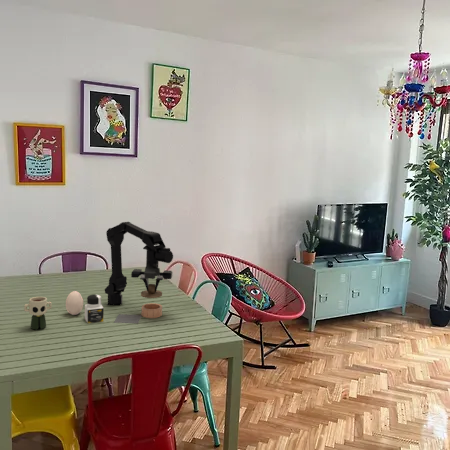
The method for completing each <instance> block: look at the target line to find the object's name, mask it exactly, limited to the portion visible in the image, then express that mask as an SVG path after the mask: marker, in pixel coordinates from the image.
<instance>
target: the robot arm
mask: <svg viewBox="0 0 450 450" xmlns="http://www.w3.org/2000/svg"><path fill="white" fill-rule="evenodd" d="M105 233H106V241H107V242H108V243H109V246H110V261H111V275H110V277H109V278H108V285H107V286H106V287H105V288H104V293H105V295H106V294H107V304H106V306H117V307H119V306H121V305H122V303H123V294H122V293H123V292H125V289H126V287H127V284H128V283H127V282H128V281H127V278H128V277H127V276H125V275H124V274H123V265H122V264H123V262H122V243H123V242H124V240H125V235H126V234H127V233H128V234H130V235H132V236H134V237H136V238H138V239H140V240H141V242H142V243H143V244H144V245H145V246H144V247H142V249H143V250H146V259H145V260H146V263H145V268H144V271H143V270H142V269H141V268H140V269H139V268H134V269H133V270H132V271H131V278H136V279H138V278H139V279H140V280H142V281H143V284H144V286H145V289H146V290H147V292H148V285H149V284H150V283H149V279H151V280H154V279H155V292H156V290H158V287H159V284H160V282H161V281H163V280H172V278H173V271H172V270H165V269H164V270H163V271H162V272H161V269H160V267H159V262H160V263H161V262H162V263H164V264H165V263H166V264H170V263H171V262H173V259H174V253H173V252H172V251H171V248H169V247H167V246H166V245H165V243H164V241H163V238H162V236H161V234H160V233H159V232H156V231H149V230H146V229H144V228H142V227H139V226H137V225H136V224H134V223H132V222H130V221H123V222H121V223H119V224H117V225H115V226H113V227H109V228H108V229H107V230H106V232H105Z"/></svg>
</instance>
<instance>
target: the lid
mask: <svg viewBox="0 0 450 450" xmlns="http://www.w3.org/2000/svg"><path fill="white" fill-rule="evenodd" d="M155 285H156V283H149V285H148V292H147V289H146V290H145V289H144V290H142V291H141V292H140V296H141V297H143V298H146V299H157V298H161V297H162V296H163V292H162V291H161V290H158V289H157V290H156V292H155Z"/></svg>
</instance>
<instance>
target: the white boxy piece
mask: <svg viewBox="0 0 450 450" xmlns="http://www.w3.org/2000/svg"><path fill="white" fill-rule="evenodd" d="M86 297H87V298H86V300H87V301H86V303H87V304H84V320H85V322H86V323H87V324H94V323H101V322H104V315H105V313H104V306H103V304H102V296H101V295H99V294H90V295H88V296H86Z"/></svg>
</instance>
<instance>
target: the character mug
mask: <svg viewBox="0 0 450 450" xmlns="http://www.w3.org/2000/svg"><path fill="white" fill-rule="evenodd" d="M48 305H49V306H48ZM23 307H24V310H23V311H24V312H25V313H26V312H29V314H30V315H31V320H30V328H31V329H33V330H39V328H40V330H43V329H45V328H46V327H47V321H46V316H45V314H46V313H47V311H48V310H52V308H53V305H52V302H51V301H48V298H47V297H46V296H34V297H30V298H29V301H28V303H26V304H24V305H23Z"/></svg>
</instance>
